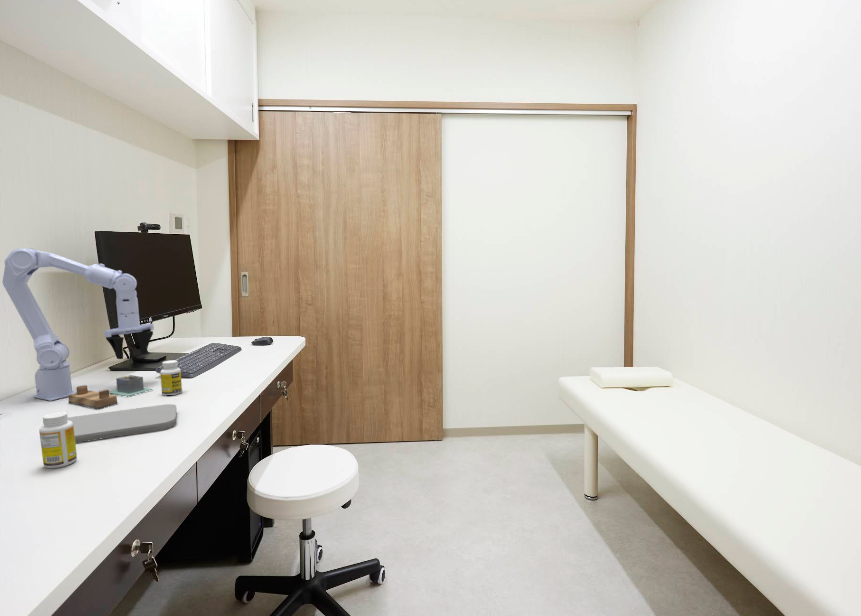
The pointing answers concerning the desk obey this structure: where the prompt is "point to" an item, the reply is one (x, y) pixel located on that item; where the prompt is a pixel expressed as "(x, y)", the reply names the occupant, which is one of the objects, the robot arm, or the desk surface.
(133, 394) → the mat
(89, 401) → the plane body
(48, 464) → the supplement bottle
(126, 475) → the desk surface
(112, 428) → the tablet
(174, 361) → the supplement bottle
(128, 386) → the lever cap
